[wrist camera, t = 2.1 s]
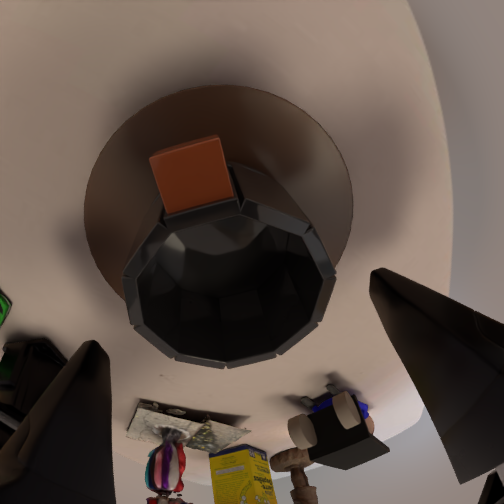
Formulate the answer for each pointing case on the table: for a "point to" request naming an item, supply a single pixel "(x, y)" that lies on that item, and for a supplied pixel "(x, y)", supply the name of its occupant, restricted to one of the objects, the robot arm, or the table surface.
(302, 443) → the figurine character
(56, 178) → the table surface
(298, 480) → the figurine
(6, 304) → the toy car
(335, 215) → the turntable
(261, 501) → the supplement box
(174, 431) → the statue
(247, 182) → the black faceted container
